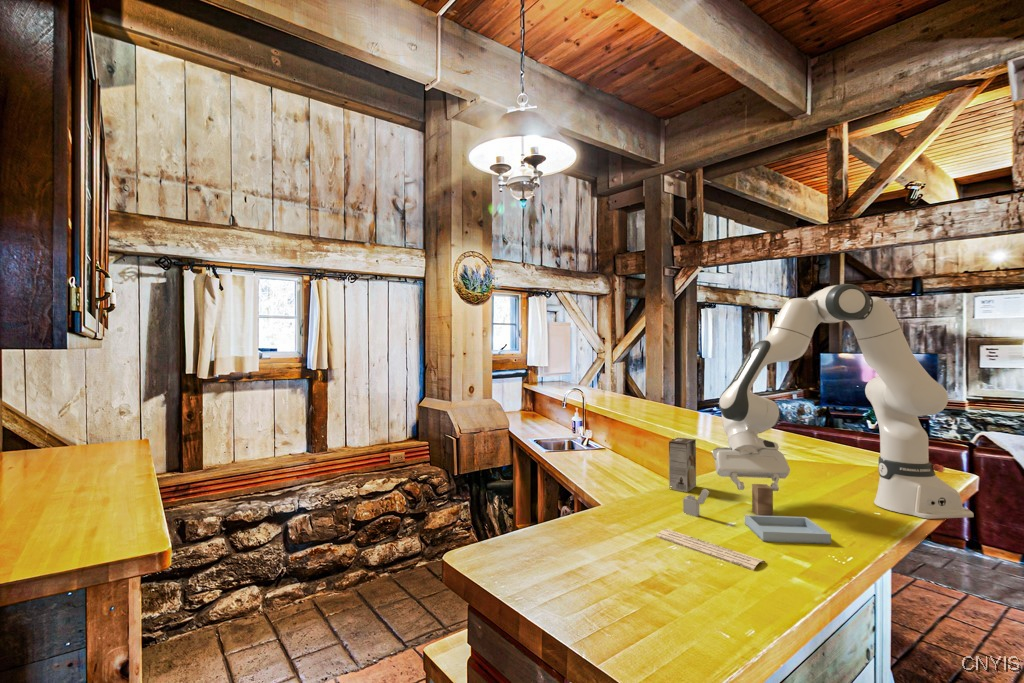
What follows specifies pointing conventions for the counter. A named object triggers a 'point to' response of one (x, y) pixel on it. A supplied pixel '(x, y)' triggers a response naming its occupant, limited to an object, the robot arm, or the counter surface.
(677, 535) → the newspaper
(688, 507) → the lighter
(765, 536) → the slate tray
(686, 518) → the counter surface
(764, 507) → the walnut block
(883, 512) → the counter surface
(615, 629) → the counter surface
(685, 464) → the coffee box
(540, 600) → the counter surface
